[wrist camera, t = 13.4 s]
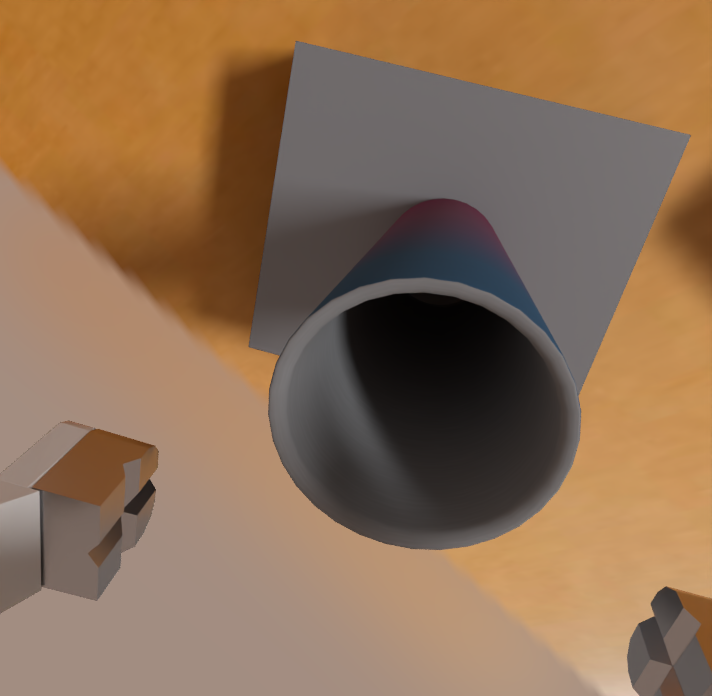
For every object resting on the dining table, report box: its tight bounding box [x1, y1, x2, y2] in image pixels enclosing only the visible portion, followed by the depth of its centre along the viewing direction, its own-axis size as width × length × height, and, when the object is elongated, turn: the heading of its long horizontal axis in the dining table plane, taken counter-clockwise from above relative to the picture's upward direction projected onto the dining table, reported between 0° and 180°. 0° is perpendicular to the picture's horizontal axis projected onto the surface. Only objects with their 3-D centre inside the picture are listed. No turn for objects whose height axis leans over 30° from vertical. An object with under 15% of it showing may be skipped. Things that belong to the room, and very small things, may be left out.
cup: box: [268, 198, 581, 550], centre depth 20 cm, size 7×7×15 cm
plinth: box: [249, 41, 691, 396], centre depth 29 cm, size 16×14×5 cm
